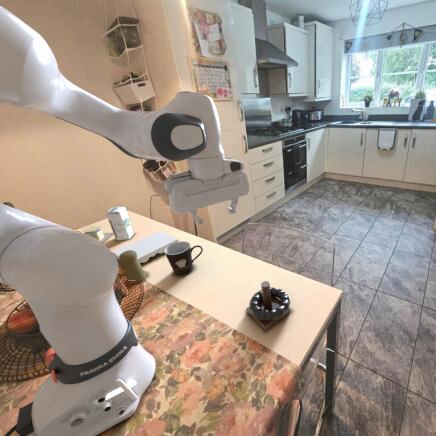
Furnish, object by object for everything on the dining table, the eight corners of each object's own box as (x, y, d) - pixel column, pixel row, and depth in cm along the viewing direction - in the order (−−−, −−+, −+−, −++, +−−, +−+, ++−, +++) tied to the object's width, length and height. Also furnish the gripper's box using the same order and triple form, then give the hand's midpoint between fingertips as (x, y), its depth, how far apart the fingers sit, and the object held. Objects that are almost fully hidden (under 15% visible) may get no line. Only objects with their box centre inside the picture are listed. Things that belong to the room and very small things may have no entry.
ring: (266, 330, 64) (265, 323, 62) (242, 306, 71) (241, 299, 70) (298, 306, 71) (298, 299, 69) (273, 286, 78) (272, 280, 77)
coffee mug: (167, 278, 86) (159, 255, 82) (176, 264, 94) (170, 241, 90) (200, 276, 87) (194, 253, 82) (206, 262, 94) (201, 240, 90)
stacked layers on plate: (112, 233, 119) (108, 223, 116) (100, 243, 111) (96, 232, 108) (91, 235, 118) (86, 225, 116) (78, 245, 110) (72, 234, 108)
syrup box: (121, 235, 117) (110, 207, 111) (135, 233, 118) (124, 206, 112) (116, 241, 112) (104, 212, 106) (130, 239, 113) (119, 211, 107)
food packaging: (131, 271, 92) (179, 245, 106) (127, 263, 90) (177, 239, 104) (115, 258, 100) (162, 236, 114) (112, 251, 99) (160, 230, 113)
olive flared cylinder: (137, 284, 84) (127, 258, 79) (123, 282, 85) (111, 257, 81) (150, 273, 90) (140, 248, 85) (136, 272, 91) (126, 247, 86)
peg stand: (265, 330, 65) (262, 301, 61) (247, 312, 71) (242, 284, 67) (290, 311, 71) (288, 283, 66) (271, 296, 77) (268, 269, 72)
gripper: (166, 178, 51) (181, 236, 57) (249, 161, 63) (254, 210, 69) (157, 173, 55) (172, 227, 61) (236, 158, 67) (242, 205, 73)
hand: (216, 218), depth 65 cm, fingers open, 8 cm apart
